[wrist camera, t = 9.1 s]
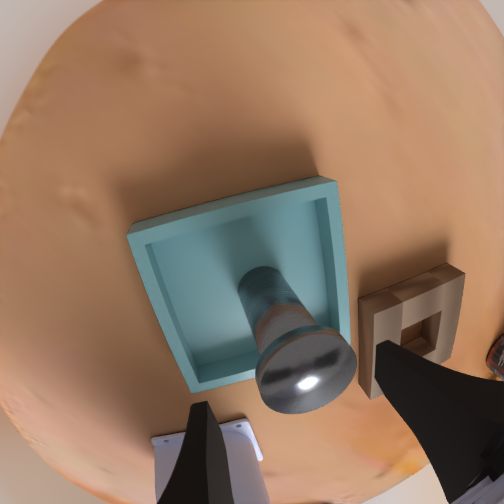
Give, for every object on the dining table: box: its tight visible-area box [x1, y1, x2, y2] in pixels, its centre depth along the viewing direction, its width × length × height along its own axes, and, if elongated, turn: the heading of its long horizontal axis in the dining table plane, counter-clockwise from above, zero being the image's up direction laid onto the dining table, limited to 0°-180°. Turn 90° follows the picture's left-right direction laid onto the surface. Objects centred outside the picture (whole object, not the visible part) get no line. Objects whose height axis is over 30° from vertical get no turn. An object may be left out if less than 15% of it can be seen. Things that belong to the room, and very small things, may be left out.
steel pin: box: [238, 266, 357, 414], centre depth 17 cm, size 4×4×9 cm
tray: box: [126, 176, 351, 394], centre depth 20 cm, size 12×12×2 cm
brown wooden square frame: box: [358, 263, 465, 400], centre depth 25 cm, size 10×10×2 cm
